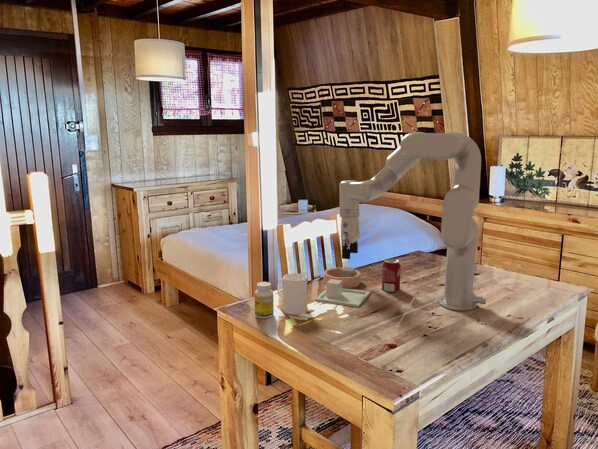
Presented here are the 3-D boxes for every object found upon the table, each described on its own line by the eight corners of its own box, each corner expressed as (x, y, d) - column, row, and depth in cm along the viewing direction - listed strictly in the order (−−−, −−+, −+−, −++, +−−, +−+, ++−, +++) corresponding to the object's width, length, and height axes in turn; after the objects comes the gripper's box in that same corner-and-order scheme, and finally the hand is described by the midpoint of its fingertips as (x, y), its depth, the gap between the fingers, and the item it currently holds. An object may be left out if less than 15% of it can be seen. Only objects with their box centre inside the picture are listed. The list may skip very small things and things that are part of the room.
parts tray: (370, 294, 185) (370, 291, 184) (358, 308, 171) (358, 305, 171) (329, 289, 191) (329, 286, 191) (315, 302, 177) (315, 298, 177)
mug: (270, 308, 171) (270, 275, 169) (287, 301, 178) (287, 269, 175) (296, 317, 164) (296, 282, 161) (312, 309, 170) (313, 276, 168)
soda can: (394, 295, 184) (395, 264, 182) (378, 291, 188) (379, 261, 186) (402, 290, 190) (403, 260, 187) (386, 286, 194) (387, 257, 191)
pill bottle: (253, 313, 167) (252, 281, 165) (271, 311, 169) (270, 280, 166) (256, 320, 161) (256, 287, 159) (275, 318, 163) (275, 285, 161)
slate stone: (355, 281, 198) (355, 268, 196) (351, 284, 194) (351, 271, 193) (344, 280, 200) (344, 266, 198) (340, 283, 196) (340, 269, 194)
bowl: (364, 280, 201) (364, 269, 200) (353, 291, 188) (353, 280, 187) (330, 276, 207) (330, 265, 206) (318, 286, 194) (318, 275, 193)
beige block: (341, 294, 183) (342, 280, 182) (338, 298, 179) (338, 284, 178) (330, 293, 185) (330, 279, 184) (326, 296, 181) (326, 282, 180)
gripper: (352, 216, 181) (352, 262, 185) (365, 209, 197) (365, 251, 200) (332, 216, 184) (333, 260, 188) (347, 208, 200) (347, 250, 203)
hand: (350, 255), depth 194 cm, fingers open, 9 cm apart
